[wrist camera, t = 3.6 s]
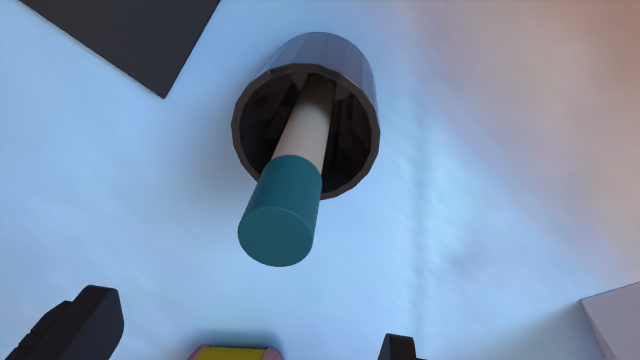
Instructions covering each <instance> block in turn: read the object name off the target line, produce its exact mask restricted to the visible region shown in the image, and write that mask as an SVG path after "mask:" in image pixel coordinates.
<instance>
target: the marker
mask: <svg viewBox="0 0 640 360" xmlns="http://www.w3.org/2000/svg"><path fill="white" fill-rule="evenodd" d="M334 98H335V87H334V84H333V83H332V81H331V80H330V79H328V78H327V77H325V76H321V75H315V76H312V77H310V78H308V79H307V80H306V81H305V83H304V85H303V87H302V89H301V92H300V94H299V96H298V99H297V101H296V103H295V106H294V108H293V110H292V113H291V115H290V117H289V120H288V122H287V124H286V126H285V129H284V131H283V133H282V136H281V138H280V140H279V143H278V145H277V147H276V150H275V152H274V154H273V157H272V159H271V161H270V162H269V163H268V164H267V165H266V166H265V168H264V170H263V172H262V174H261V176H260V179H259V181H258V183H257V185H256V187H255V190H254V192H253V194H252V196H251V199H250V201H249V203H248V205H247V208H246V210H245V212H244V214H243V216H242V219H241V221H240V223H239V226H238V239H239V242H240V245H241V246H242V248H243V249H244V251H245V252H246V253H247V254H248V255H249V256H250V257H251V258H253V259H254V260H256V261H258V262H260V263H262V264H265V265H269V266H274V267H285V266H291V265H294V264H296V263H298V262H300V261H301V260H303V259H304V258H305V257H306V256H307V255H308V254H309V252H310V250H311V248H312V244H313V238H314V232H315V226H316V220H317V214H318V208H319V202H320V195H321V189H322V178H321V172H322V166H323V160H324V155H325V149H326V143H327V138H328V132H329V126H330V121H331V115H332V109H333V104H334Z"/></svg>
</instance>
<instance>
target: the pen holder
mask: <svg viewBox="0 0 640 360" xmlns="http://www.w3.org/2000/svg"><path fill="white" fill-rule="evenodd" d="M315 75H321V76H325V77H327V78H328V79H330V80H331V81H332V83H333V84H334V87H335V98H334V104H333V109H332V115H331V121H330V126H329V132H328V138H327V143H326V149H325V155H324V160H323V166H322V172H321V178H322V189H321V195H320V200H324V199H329V198H334V197H337V196H339V195H341V194H343V193H345V192H346V191H348V190H350V189H352V188H354V187H355V186H356V185H357V184H358V183H359V182H360V181H361V180H362V179H363V178H364V177H365V176H366V175H367V174H368V173H369V171H370V169H371V167H372V165H373V163H374V161H375V159H376V157H377V155H378V151H379V142H380V123H379V115H378V106H377V97H376V89H375V82H374V78H373V73H372V70H371V67H370V65H369V63H368V61H367V59H366V58H365V56H364V55H363V54H362V52H361V51H360V50H359V49H358V48H357V47H356V46H355V45H354V44H352V43H351V42H350V41H348V40H346V39H344V38H343V37H340V36H338V35H335V34H331V33H326V32H311V33H306V34H302V35H300V36H297V37H295V38H293V39H291V40H290V41H288V42H287V43H285V44H284V45H283V46H282V47H281V48H279V49H278V50H277V51H276V52H275V54H274V55H273V56H272V57H271V58H270V59H269V61H268V62H267V63H266V64H265V65H264V66H263V68H262V69H261V70H260V71H259V72H258V73H257V75H256V76H255V77H254V78H253V79H252V80H251V82H250V83H249V84H248V85H247V87H246V88H245V90H244V91H243V93H242V94H241V96H240V97H239V99H238V100H237V102H236V105H235V109H234V113H233V117H232V121H231V129H232V139H233V146H234V148H235V150H236V153H237V155H238V157H239V159H240V162H241V164H242V166H243V167H244V168H245V169H246V170H247V171H248V173H249V174H250V175H251V176H252V177H253V178H254V180H255V181H256V182H258V181H259V179H260V176H261V174H262V172H263V170H264V168H265V166H266V165H267V164H268V163H269V162H270V161H271V159H272V157H273V154H274V152H275V150H276V147H277V145H278V143H279V140H280V138H281V136H282V133H283V131H284V129H285V126H286V124H287V122H288V120H289V117H290V115H291V113H292V110H293V108H294V106H295V103H296V101H297V99H298V96H299V94H300V92H301V89H302V87H303V85H304V83H305V81H306V80H307V79H308V78H310V77H312V76H315Z"/></svg>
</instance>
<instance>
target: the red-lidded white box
mask: <svg viewBox="0 0 640 360" xmlns="http://www.w3.org/2000/svg"><path fill="white" fill-rule="evenodd" d="M581 303H582V305H583V308H584V310H585V312H586V315H587V317H588V320H589V322H590V324H591V327H592V329H593V331H594V334H595V336H596V339H597V341H598V343H599V346H600V348H601V350H602V353H603V355H604V358H605V360H640V282H639V283H636V284H633V285H629V286H626V287H622V288H619V289H616V290H612V291H609V292H606V293H602V294H599V295H595V296H592V297H589V298H585V299H582V300H581Z"/></svg>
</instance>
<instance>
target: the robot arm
mask: <svg viewBox="0 0 640 360" xmlns="http://www.w3.org/2000/svg"><path fill="white" fill-rule="evenodd" d="M123 330H124V319H123V314H122V309H121V304H120V299H119V293H118V291H117V290H116V289H114V288H108V287H101V286H95V285H88V286H86V287H85V288H84V289H83V290H82V291H81V292H80V293H79V295H78V296H77V297H76V298H75V299H74V301H73V302H71V301H63V302H62V303H60V304H59V305H57V306H56V307H54V308H53V309H51V310H50V311H48V312H47V313H45V314H44V316H43V317H42V318H41V319H40V320H39V321H38V322H37V324H36V325H35V326H34V327H33V328H32V329H31V332H30V333H29V334H27V335H26V336H25V337H24V338H23V339H22V341H21V342H20V343H19V345H18V347H17V348H15V349H14V350H13V351H12V352H11V353H10V354H9V355H8V356H7V358H6V359H5V360H109V358H110V357H111V355H112V353H113V352H114V350H115V348H116V347H117V345H118V344H119V342H120V339H121V337H122V334H123ZM378 360H425V359H419V358H416V352H415V345H414V340H413V338H412V337H408V336H401V335H395V334H389V333H387V334H386V335H385V338H384V341H383V344H382V347H381V350H380V354H379V357H378Z"/></svg>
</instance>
